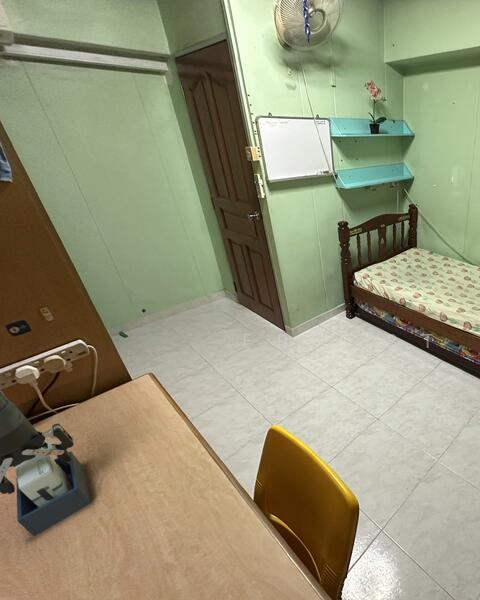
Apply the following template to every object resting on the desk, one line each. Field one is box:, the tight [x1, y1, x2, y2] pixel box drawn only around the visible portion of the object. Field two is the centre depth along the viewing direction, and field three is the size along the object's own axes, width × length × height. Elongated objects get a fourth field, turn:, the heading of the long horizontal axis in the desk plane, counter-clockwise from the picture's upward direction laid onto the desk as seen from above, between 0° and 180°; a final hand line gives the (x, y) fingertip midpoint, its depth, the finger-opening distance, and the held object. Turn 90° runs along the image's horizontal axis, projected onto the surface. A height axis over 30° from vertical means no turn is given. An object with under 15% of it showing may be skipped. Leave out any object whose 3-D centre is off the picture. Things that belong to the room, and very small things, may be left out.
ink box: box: [14, 454, 73, 507], centre depth 70 cm, size 8×5×12 cm, turn 51°
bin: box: [16, 451, 92, 537], centre depth 72 cm, size 9×13×6 cm
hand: (40, 476), depth 69 cm, fingers open, 8 cm apart
